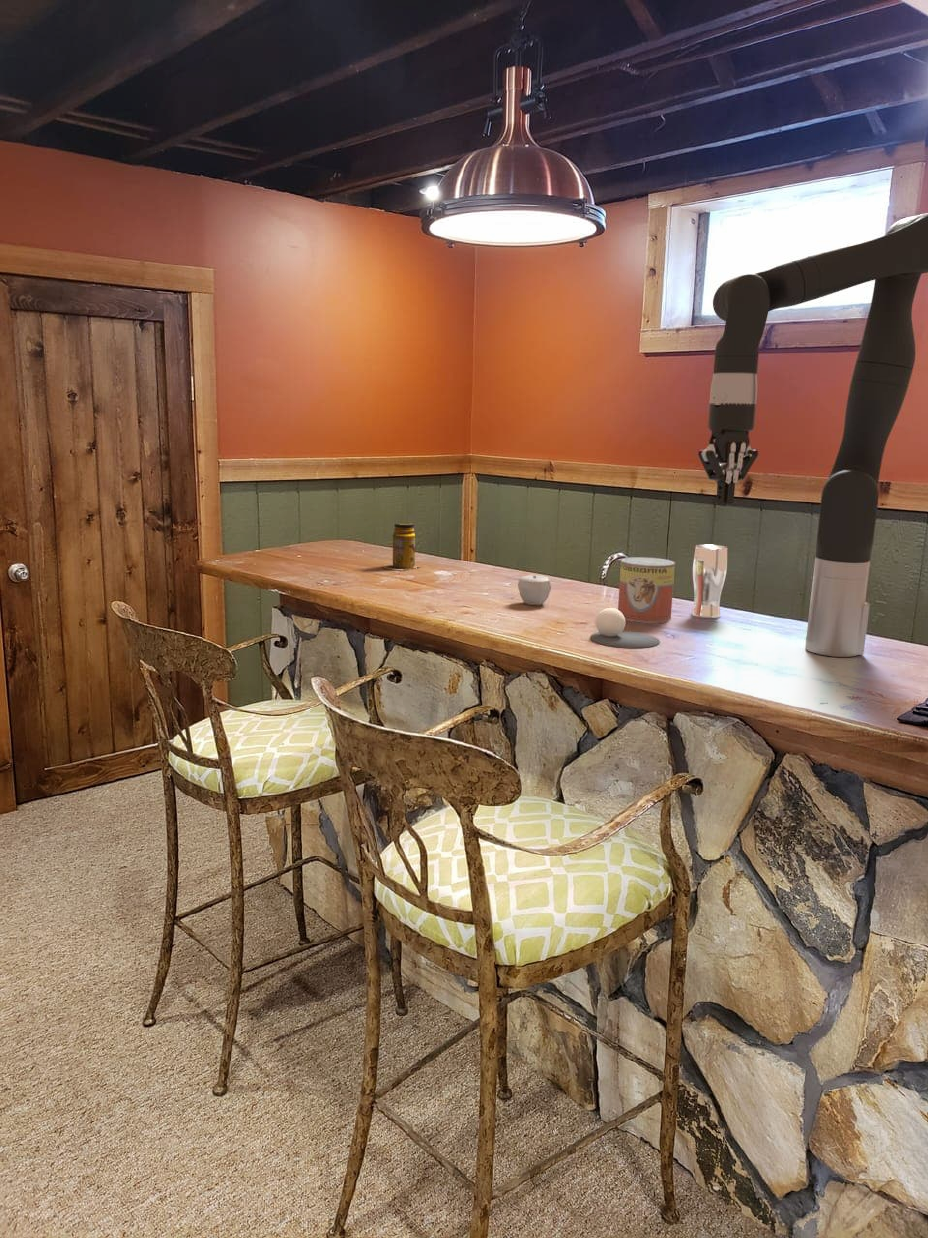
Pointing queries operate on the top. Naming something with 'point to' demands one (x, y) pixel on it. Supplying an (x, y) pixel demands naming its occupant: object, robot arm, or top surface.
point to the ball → (610, 622)
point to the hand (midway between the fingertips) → (724, 505)
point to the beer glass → (708, 579)
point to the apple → (534, 589)
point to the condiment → (403, 547)
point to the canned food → (646, 589)
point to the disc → (626, 640)
